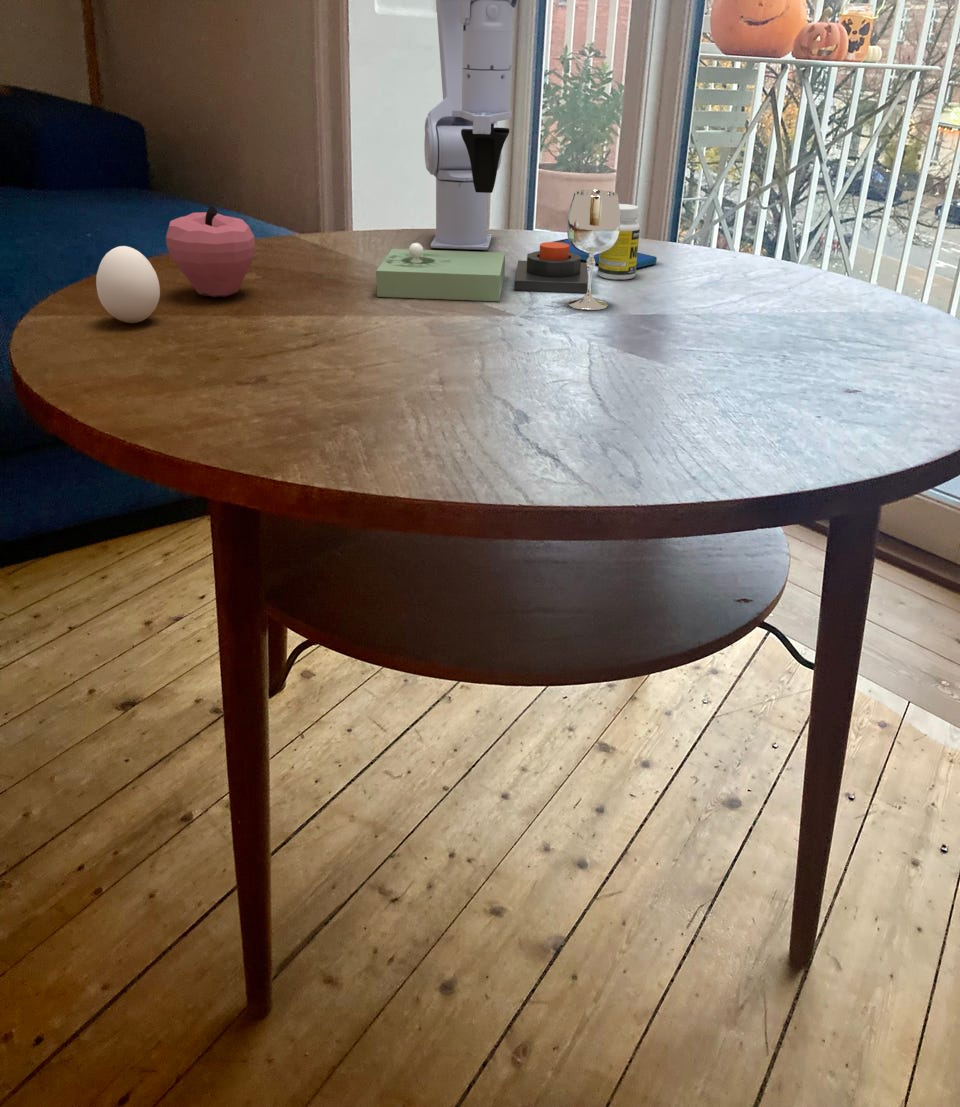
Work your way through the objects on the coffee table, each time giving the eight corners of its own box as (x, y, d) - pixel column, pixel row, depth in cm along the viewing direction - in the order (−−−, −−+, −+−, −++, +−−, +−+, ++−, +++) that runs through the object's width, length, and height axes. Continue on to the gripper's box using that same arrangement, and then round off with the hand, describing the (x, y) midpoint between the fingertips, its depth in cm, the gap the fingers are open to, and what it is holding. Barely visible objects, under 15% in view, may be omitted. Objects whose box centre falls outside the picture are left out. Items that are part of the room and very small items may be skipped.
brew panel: (517, 269, 127) (518, 245, 125) (588, 272, 126) (590, 248, 125) (514, 290, 117) (515, 264, 116) (590, 293, 117) (592, 267, 115)
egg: (128, 333, 98) (116, 255, 95) (89, 323, 101) (76, 247, 98) (176, 320, 103) (167, 245, 99) (138, 311, 106) (127, 237, 102)
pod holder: (392, 273, 123) (391, 248, 122) (504, 277, 123) (505, 252, 121) (376, 297, 113) (376, 270, 112) (499, 301, 112) (499, 274, 111)
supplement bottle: (633, 281, 122) (640, 210, 118) (595, 279, 123) (601, 208, 119) (636, 273, 126) (643, 204, 122) (599, 270, 127) (604, 202, 123)
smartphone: (626, 265, 126) (538, 244, 135) (625, 273, 127) (537, 251, 136) (660, 257, 131) (572, 237, 140) (659, 264, 131) (572, 244, 140)
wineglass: (579, 313, 108) (587, 198, 103) (552, 301, 113) (558, 190, 107) (623, 308, 111) (633, 195, 105) (594, 296, 115) (603, 187, 109)
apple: (273, 291, 114) (266, 201, 109) (228, 309, 107) (218, 212, 102) (205, 282, 117) (195, 193, 113) (157, 298, 110) (144, 204, 106)
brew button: (539, 255, 122) (540, 241, 121) (568, 257, 122) (569, 242, 121) (538, 262, 119) (539, 247, 118) (568, 263, 119) (569, 248, 118)
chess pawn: (432, 288, 117) (432, 244, 115) (408, 289, 116) (408, 245, 114) (425, 282, 120) (425, 239, 117) (403, 283, 119) (402, 240, 116)
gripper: (458, 65, 122) (457, 182, 128) (446, 71, 109) (445, 200, 116) (515, 67, 122) (511, 183, 128) (510, 72, 109) (506, 202, 115)
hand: (484, 191), depth 122 cm, fingers closed
